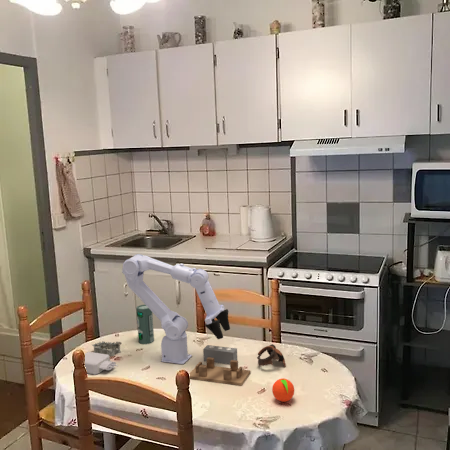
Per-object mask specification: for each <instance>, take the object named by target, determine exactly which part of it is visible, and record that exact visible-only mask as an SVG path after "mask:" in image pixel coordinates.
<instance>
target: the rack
mask: <svg viewBox="0 0 450 450" xmlns="http://www.w3.org/2000/svg"><path fill="white" fill-rule="evenodd" d="M251 373H252V372H251V370H249V369H243V366H239V360H238V359H237V360H231V361H230V365H229V367H225V366H217V365H216V363H214V358H211V357H208V358H207V362H206V364H203V361H199V362H198V363H197V364H196V365H195V367H194V368H193V369H192V370H191V371H190V372H189V373H188V374H190V379H189V380H195V381H203V382H211V383H217V384H223V385H224V384H225V385H226V384H227V385H232V386H238V387H242V386H243V385H244V383H245V382H246V381H247V379H248V378H249V376H250V375H251Z"/></svg>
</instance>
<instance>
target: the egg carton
mask: <svg viewBox="0 0 450 450" xmlns="http://www.w3.org/2000/svg"><path fill="white" fill-rule="evenodd" d="M121 345H122V342H121V341H116V342H112V341H107V342H106V341H103V340H102V341H99V342H97V343H93V344H91V346H92V347H93V352H94V353H100V354H107V355H109V357H114V356H116V354H119V353H121Z"/></svg>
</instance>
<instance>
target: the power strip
mask: <svg viewBox="0 0 450 450" xmlns="http://www.w3.org/2000/svg"><path fill="white" fill-rule="evenodd" d="M202 351H203V352H202V353H203V354H202V355H203V362H206V363H207V358H208V357H211V358H214V363H215V364H222V365H229V366H230V361H231V360H237V361H238V348H236V347H230V346H229V347H227V346H219V345H209V344H207V345H206V346H204V348H202Z"/></svg>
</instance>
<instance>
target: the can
mask: <svg viewBox="0 0 450 450" xmlns="http://www.w3.org/2000/svg"><path fill="white" fill-rule="evenodd" d="M135 311H136V321H137V338H138V339H137V340H138V343H139V344H140V345H150V344H152V343H154V342H155V334H154V319H153V318H154V316H153V315H154V314H153V312H152V311H151V310H150V309H149V308H148V307H147V306H146V305H145V304H140V305H137V306H136V307H135Z"/></svg>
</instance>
